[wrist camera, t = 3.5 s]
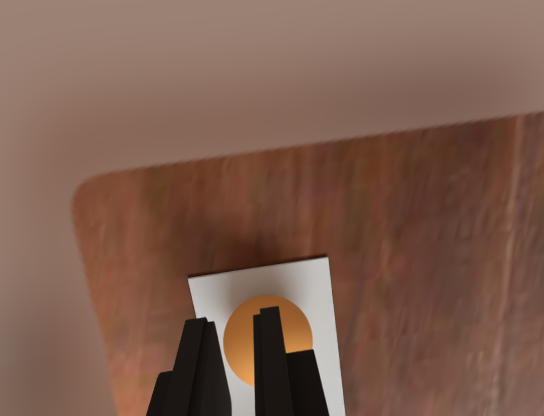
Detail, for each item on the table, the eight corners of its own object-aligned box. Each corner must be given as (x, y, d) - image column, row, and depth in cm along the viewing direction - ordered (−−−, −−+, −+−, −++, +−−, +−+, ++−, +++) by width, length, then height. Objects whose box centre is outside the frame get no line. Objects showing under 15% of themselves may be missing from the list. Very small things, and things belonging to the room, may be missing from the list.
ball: (218, 286, 30) (211, 335, 24) (301, 273, 30) (314, 320, 24) (232, 355, 32) (229, 417, 26) (310, 343, 32) (324, 402, 26)
